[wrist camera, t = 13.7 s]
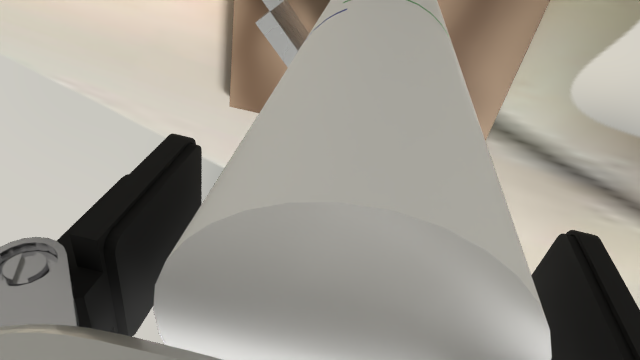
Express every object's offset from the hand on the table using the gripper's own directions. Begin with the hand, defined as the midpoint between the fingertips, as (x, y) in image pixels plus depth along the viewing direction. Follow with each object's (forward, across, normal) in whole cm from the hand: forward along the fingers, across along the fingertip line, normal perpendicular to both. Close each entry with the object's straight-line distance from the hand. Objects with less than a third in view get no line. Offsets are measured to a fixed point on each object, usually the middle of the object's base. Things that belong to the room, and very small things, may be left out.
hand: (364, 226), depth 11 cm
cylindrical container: (+21, +1, 0) cm, 21 cm away
